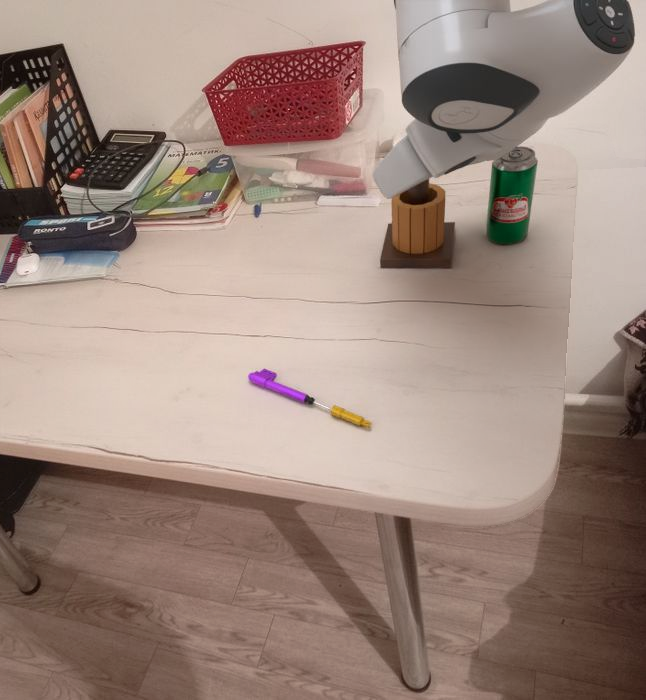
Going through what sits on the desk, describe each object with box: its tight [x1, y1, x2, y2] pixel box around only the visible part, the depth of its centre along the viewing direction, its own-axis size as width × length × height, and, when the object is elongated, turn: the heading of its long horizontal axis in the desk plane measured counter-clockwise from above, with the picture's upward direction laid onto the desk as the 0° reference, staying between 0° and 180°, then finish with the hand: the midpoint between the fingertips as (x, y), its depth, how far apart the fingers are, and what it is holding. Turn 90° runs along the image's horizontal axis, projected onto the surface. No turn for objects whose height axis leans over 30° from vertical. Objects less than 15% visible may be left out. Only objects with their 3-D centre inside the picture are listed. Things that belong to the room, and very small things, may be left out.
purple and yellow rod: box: [247, 368, 372, 428], centre depth 71 cm, size 3×1×16 cm
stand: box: [379, 178, 456, 269], centre depth 83 cm, size 9×9×12 cm
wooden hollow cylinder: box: [390, 182, 446, 254], centre depth 84 cm, size 7×7×7 cm
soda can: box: [485, 145, 539, 245], centre depth 80 cm, size 5×5×12 cm
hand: (422, 173), depth 79 cm, fingers open, 8 cm apart
